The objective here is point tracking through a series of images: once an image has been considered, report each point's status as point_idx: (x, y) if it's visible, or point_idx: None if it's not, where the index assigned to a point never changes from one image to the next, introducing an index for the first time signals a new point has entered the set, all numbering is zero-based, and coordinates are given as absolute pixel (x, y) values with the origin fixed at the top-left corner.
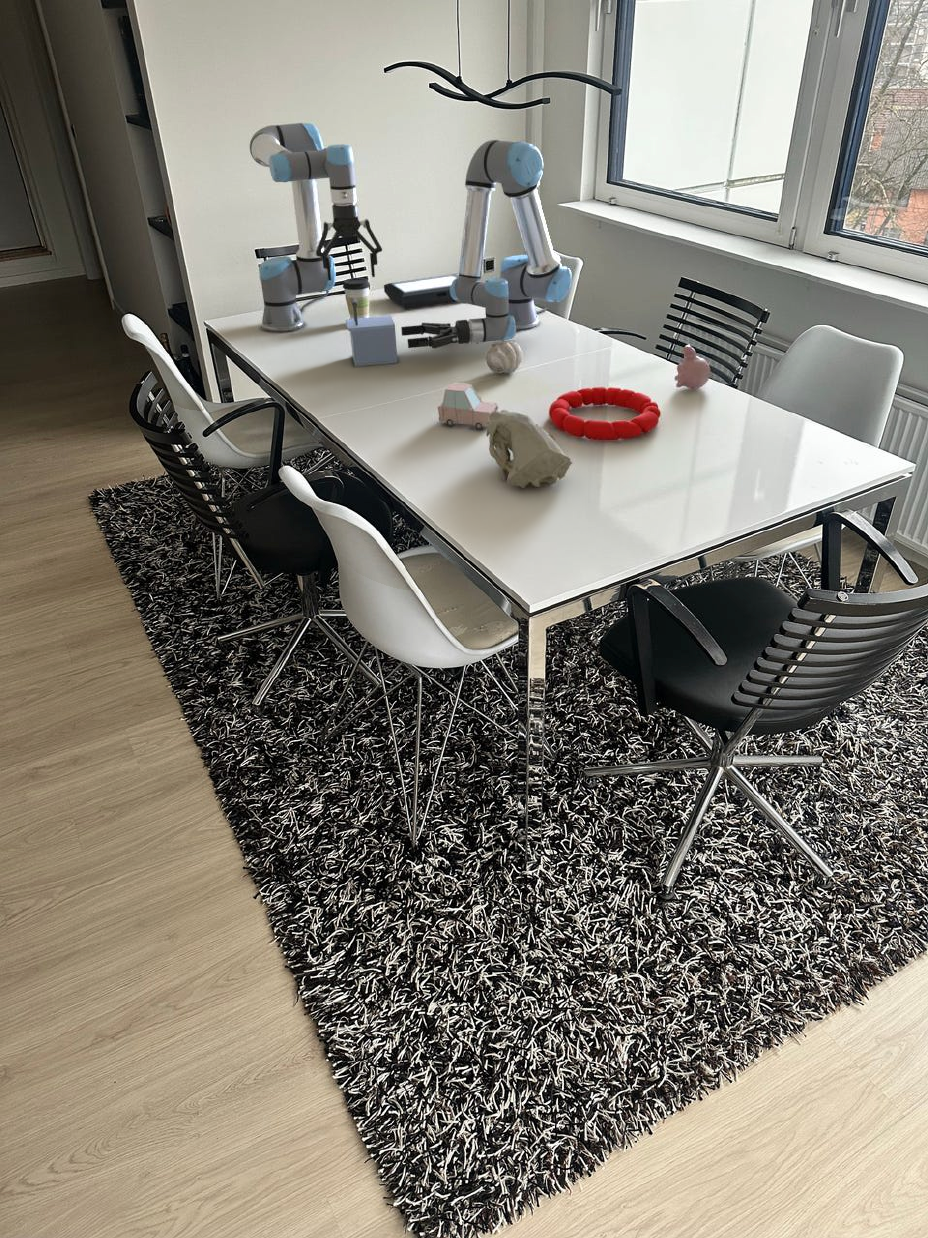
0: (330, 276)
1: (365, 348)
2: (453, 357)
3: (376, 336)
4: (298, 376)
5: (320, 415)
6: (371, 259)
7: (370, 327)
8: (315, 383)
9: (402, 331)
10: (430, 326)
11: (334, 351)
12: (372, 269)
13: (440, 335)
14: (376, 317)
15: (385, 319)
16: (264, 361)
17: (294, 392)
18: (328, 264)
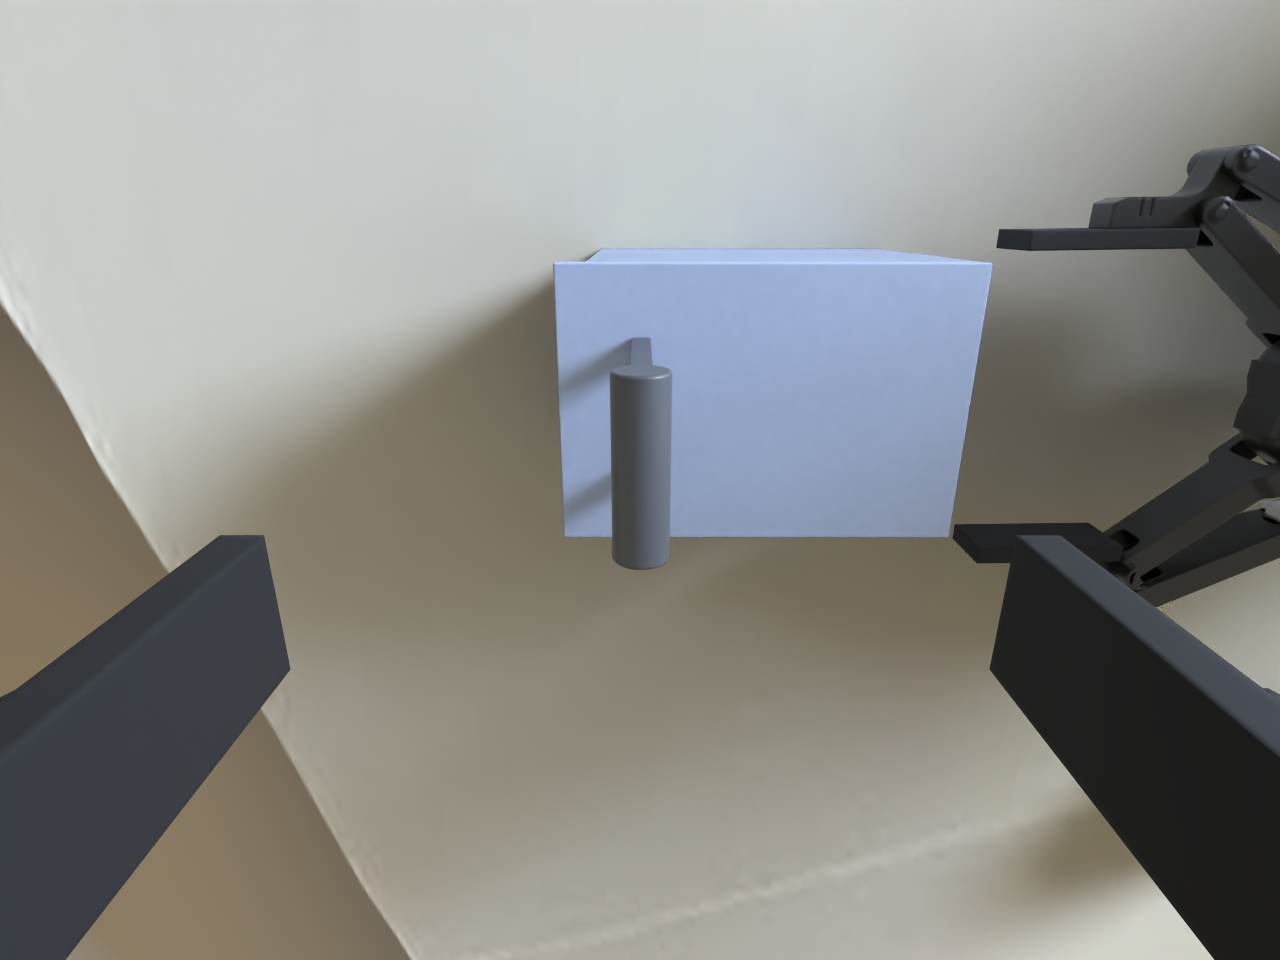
0: (253, 710)
1: None
2: (1195, 440)
3: None
4: (283, 519)
5: (430, 954)
6: (1200, 939)
7: (744, 534)
8: (386, 639)
9: (1016, 248)
10: (1258, 280)
11: (481, 84)
12: (1064, 757)
13: (1223, 522)
14: (847, 285)
15: (911, 374)
16: (3, 178)
17: (294, 723)
18: (90, 893)
